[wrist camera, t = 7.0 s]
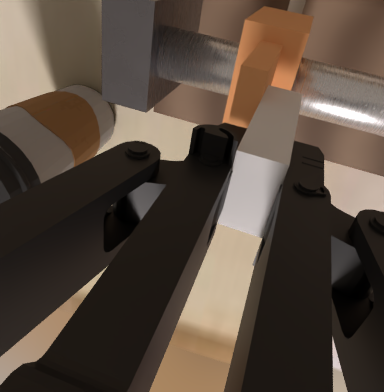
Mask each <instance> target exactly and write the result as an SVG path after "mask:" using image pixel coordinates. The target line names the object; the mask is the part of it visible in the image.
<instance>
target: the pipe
mask: <svg viewBox="0 0 384 392" xmlns="http://www.w3.org/2000/svg"><path fill="white" fill-rule="evenodd" d="M202 5H203V0H102V100H104V101H107V102H111V103H114V104H118V105H121V106H125V107H128V108H132V109H135V110H139V111H142V112H148V111H149V110H150V109H151V108H153V107H154V106H155V105H156V104H157V103H159V102H160V101H161V100H162V99H163V98H165V97H166V96H167V95H168V94H169V93H171V92H172V91H173V90H174V89H176V88H177V87H178V86H179V85H180V84H186V85H190V86H194V87H197V88H201V89H205V90H209V91H213V92H216V93H220V94H224V95H229V90H230V86H231V81H232V76H233V72H234V67H235V63H236V58H237V54H238V49H239V45H240V42H235V41H231V40H227V39H223V38H218V37H214V36H210V35H206V34H201V33H198V31H199V25H200V18H201V11H202ZM291 91H294V92H298V93H302V94H303V95H302V100H301V106H300V111H299V114H300V115H303V116H307V117H311V118H315V119H319V120H322V121H326V122H330V123H334V124H338V125H341V126H345V127H349V128H353V129H357V130H360V131H364V132H368V133H372V134H375V135H379V136H383V137H384V77H383V76H379V75H375V74H371V73H366V72H362V71H358V70H354V69H349V68H345V67H341V66H337V65H333V64H328V63H324V62H320V61H316V60H311V59H307V58H303V57H302V58H301V62H300V65H299V68H298V71H297V74H296V77H295V80H294V83H293V86H292V89H291Z"/></svg>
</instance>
